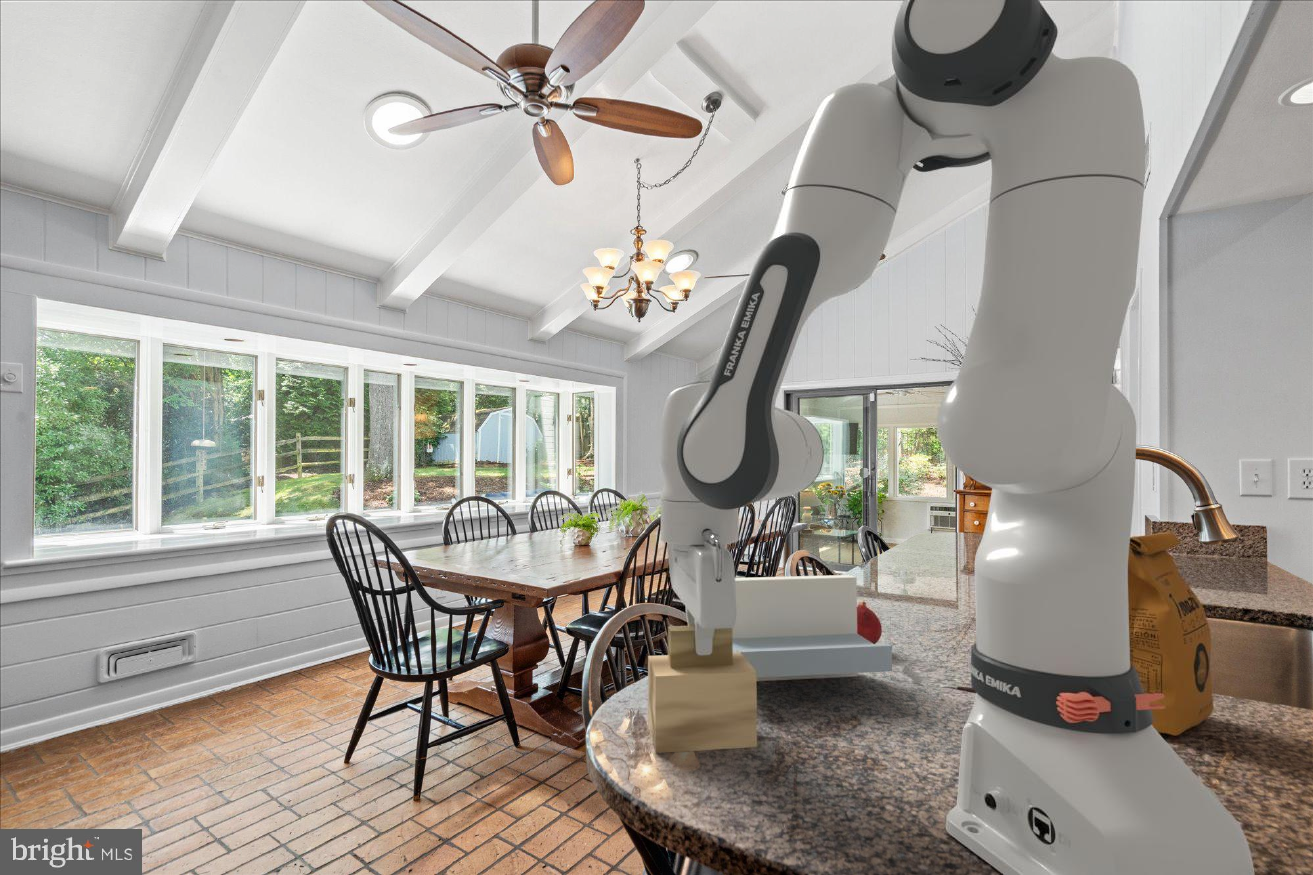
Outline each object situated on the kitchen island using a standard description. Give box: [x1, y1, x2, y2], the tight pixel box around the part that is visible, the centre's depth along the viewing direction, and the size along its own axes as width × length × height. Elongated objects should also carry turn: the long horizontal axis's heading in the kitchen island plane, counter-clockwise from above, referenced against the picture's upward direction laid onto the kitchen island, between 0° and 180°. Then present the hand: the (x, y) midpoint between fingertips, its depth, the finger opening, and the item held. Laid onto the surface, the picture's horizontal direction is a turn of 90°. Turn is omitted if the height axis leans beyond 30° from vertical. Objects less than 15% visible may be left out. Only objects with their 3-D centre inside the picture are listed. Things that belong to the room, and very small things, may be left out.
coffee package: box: [1128, 531, 1214, 736], centre depth 74 cm, size 10×12×22 cm
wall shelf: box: [732, 574, 893, 682], centre depth 84 cm, size 12×20×14 cm, turn 97°
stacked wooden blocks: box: [647, 625, 758, 754], centre depth 70 cm, size 7×11×12 cm, turn 97°
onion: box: [857, 600, 883, 644], centre depth 101 cm, size 6×6×8 cm
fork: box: [902, 665, 976, 694], centre depth 84 cm, size 3×16×2 cm, turn 59°
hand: (700, 648), depth 70 cm, fingers closed on stacked wooden blocks
